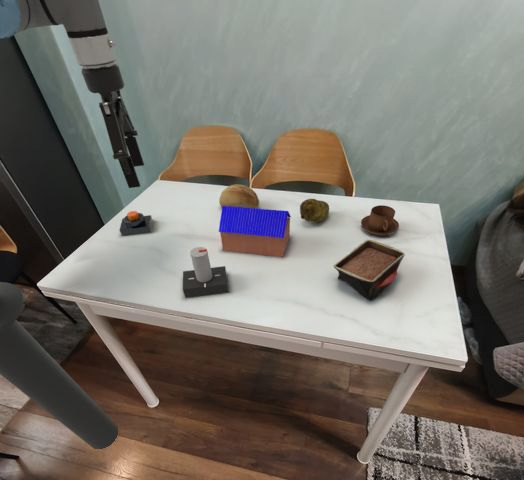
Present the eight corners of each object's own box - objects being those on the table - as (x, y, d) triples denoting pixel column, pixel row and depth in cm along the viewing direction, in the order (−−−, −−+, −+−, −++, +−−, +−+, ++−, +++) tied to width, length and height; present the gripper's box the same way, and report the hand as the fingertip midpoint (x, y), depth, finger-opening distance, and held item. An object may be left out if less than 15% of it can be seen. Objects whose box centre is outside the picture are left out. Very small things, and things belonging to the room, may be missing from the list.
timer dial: (196, 283, 82) (189, 256, 76) (196, 273, 85) (189, 246, 79) (212, 281, 83) (207, 254, 76) (212, 271, 85) (206, 244, 79)
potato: (337, 220, 106) (340, 197, 99) (305, 231, 102) (307, 207, 96) (323, 210, 110) (326, 187, 104) (292, 220, 107) (293, 197, 101)
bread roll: (257, 215, 110) (255, 192, 104) (217, 214, 112) (213, 191, 106) (261, 203, 116) (260, 180, 110) (223, 201, 118) (220, 179, 112)
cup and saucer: (404, 233, 99) (411, 215, 94) (373, 242, 96) (378, 223, 92) (382, 216, 106) (387, 199, 101) (352, 224, 104) (356, 206, 99)
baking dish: (325, 286, 87) (328, 260, 78) (366, 253, 92) (373, 225, 83) (365, 314, 81) (373, 289, 72) (407, 277, 85) (419, 250, 77)
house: (283, 257, 93) (284, 221, 84) (221, 251, 97) (215, 215, 88) (290, 236, 100) (291, 201, 91) (232, 231, 104) (228, 196, 95)
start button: (128, 221, 104) (126, 216, 102) (129, 216, 106) (127, 211, 105) (138, 220, 104) (137, 215, 103) (139, 215, 106) (138, 210, 105)
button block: (122, 235, 105) (117, 224, 102) (125, 224, 110) (120, 213, 107) (151, 232, 106) (147, 221, 103) (152, 220, 111) (149, 210, 108)
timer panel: (185, 298, 83) (182, 289, 81) (185, 279, 89) (182, 270, 86) (228, 292, 84) (227, 283, 81) (226, 273, 89) (224, 264, 87)
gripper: (108, 75, 55) (148, 195, 72) (124, 54, 71) (153, 156, 87) (66, 79, 55) (116, 199, 71) (90, 57, 70) (127, 159, 87)
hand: (137, 175), depth 79 cm, fingers open, 13 cm apart
